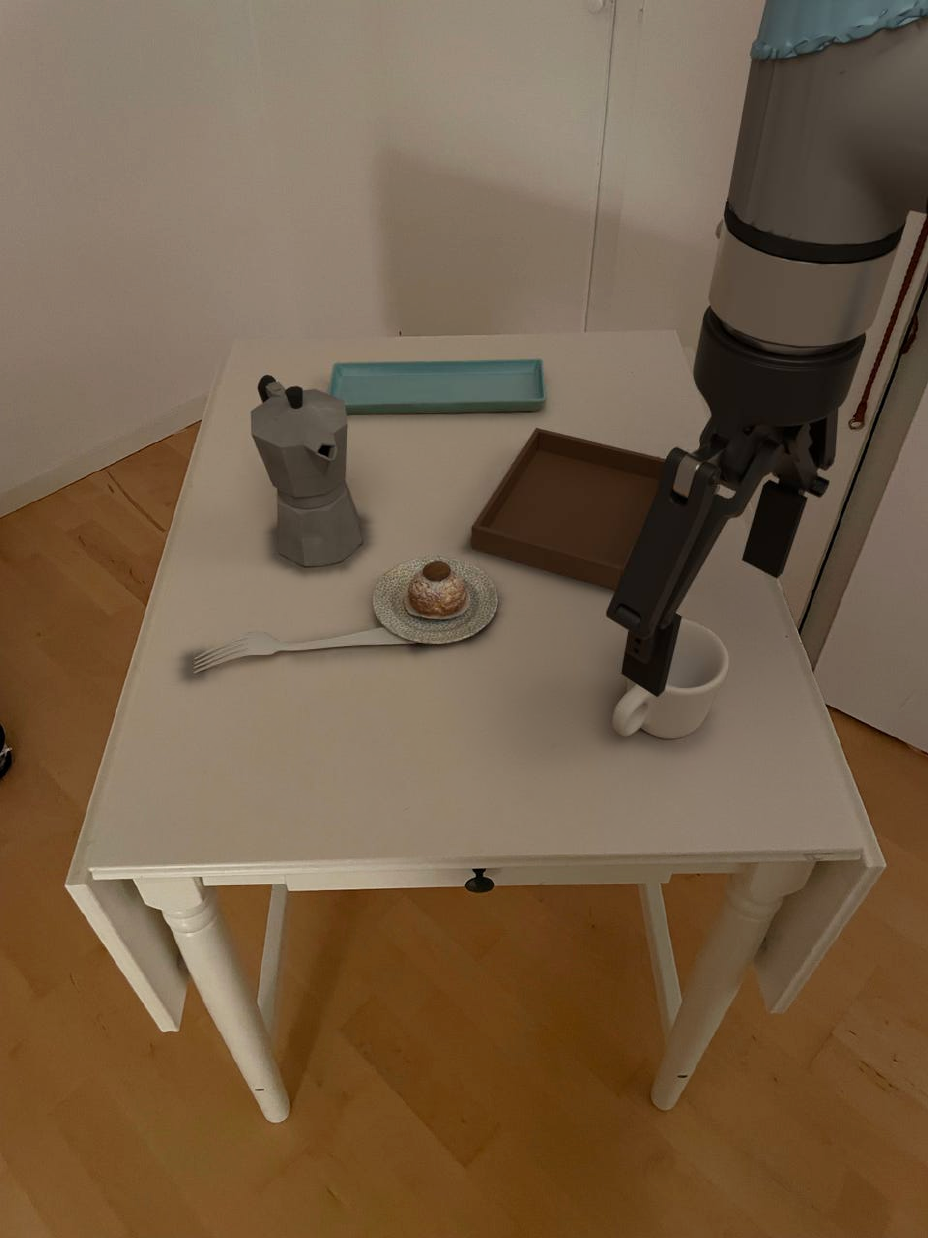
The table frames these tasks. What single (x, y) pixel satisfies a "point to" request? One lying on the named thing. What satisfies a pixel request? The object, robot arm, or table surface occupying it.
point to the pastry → (435, 600)
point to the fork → (294, 644)
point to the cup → (677, 688)
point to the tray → (570, 507)
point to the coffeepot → (307, 472)
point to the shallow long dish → (439, 386)
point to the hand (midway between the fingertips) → (705, 621)
